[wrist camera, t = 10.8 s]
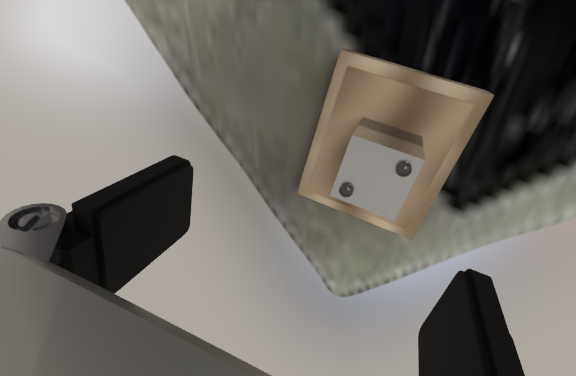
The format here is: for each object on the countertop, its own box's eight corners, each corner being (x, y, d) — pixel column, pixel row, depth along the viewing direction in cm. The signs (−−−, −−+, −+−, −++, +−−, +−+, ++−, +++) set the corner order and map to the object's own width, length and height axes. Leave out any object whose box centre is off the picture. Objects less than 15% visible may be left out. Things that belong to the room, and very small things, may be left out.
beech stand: (486, 90, 25) (495, 96, 22) (411, 226, 32) (412, 242, 29) (346, 48, 27) (339, 49, 25) (304, 183, 34) (295, 195, 31)
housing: (421, 136, 25) (425, 161, 20) (396, 188, 28) (393, 223, 22) (363, 116, 26) (351, 135, 21) (343, 168, 28) (328, 197, 23)
